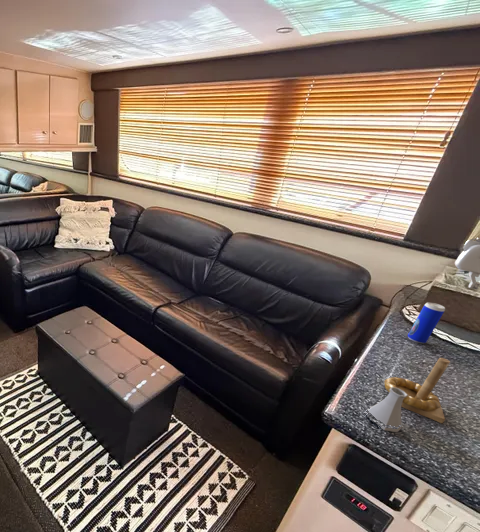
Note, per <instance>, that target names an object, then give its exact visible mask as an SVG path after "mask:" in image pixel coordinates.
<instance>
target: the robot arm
mask: <svg viewBox="0 0 480 532" xmlns="http://www.w3.org/2000/svg"><path fill="white" fill-rule="evenodd" d="M454 265H455V267H456V268H457V270H460V271H463V272H464V271H465V272H469V273H468V276H469V280H470V282H469V284H468V288H469V289H473V290H479V288H480V282H479V281H477V279H476V278H479V277H480V237H476V238H470V239H468V240H467V241H465V243H464V244H463V246H462V251H461V253H460V254H459V255H458V257H457V258H456V259H455V261H454Z"/></svg>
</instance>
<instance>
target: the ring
mask: <svg viewBox="0 0 480 532" xmlns="http://www.w3.org/2000/svg"><path fill="white" fill-rule="evenodd" d="M383 382H384V389H385V390H386V391H387V393H388V394H389V393H390V391H389V389H390V388H391V387H395V388H397V387H396V386H400V387H405V388H407V389H410V390H413V391H414V392H416V393H418V391H419V390H420V388H421V387H422V385H421V384H419V383H417V382H415V381H412V380H410V379H406V378H403V377H396V376H392V377H388V378H386V379H385V380H384V381H383ZM426 400H427V401H423V400H418V399H416V398H413V397H411V396H409V395H408V396H407V397H405V398H404V399H403V401H402V402H403V403H405V404H407V405H409V406H412V407H414V408H417V409H421V410H427V411H434V410H436V409H438V408H440V406H441V407H442V405H441V402H439V401H440V399H439V397H438V396H437V395H435V393H433V392H432V391H431V393H430V395H429V396H428V398H427V399H426Z"/></svg>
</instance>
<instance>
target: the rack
mask: <svg viewBox="0 0 480 532" xmlns="http://www.w3.org/2000/svg"><path fill="white" fill-rule="evenodd" d="M450 364H451V361H450V360H449V359H446V358H444V357H439V358H438V359H437V361H436V362H435V364H434V366H433V367H432V369H431V371H430V372H429V374H428V375H427V377H426V378H425V380H424V381H423V383H422V385H421V386H422V387H421V388H420V390H419V391H418V393H416V392H414V391H413V390H410V389H407V388H405V387H400V386H396V387H397V388H399V389H401V390H403V391H404V392H405V393H406V394H407V395H409V396H411V397H413V398H416V399H418V400H423V401H427V400H426V399H427V398H428V396H429V395H430V393H431V392H432V391H433V390H434V388H435V387H436V385H437V384H438V383H439V380H440V379H441V378H442V376H443V374H444V373H445V372H446V370H447V368H448V367H449V365H450ZM439 402H440V400H439ZM440 403H441V402H440ZM401 408H403V409H405V410H408V411H410V412H413V413H415V414H417V415H420V416H423V417H425V418H428V419H430V420H433V421H435V422H438V423H440V424H444V422H445V421H446V417H445V414H444V411H443V408H442V405H441V406H440V408H438V409H436V410H434V411H427V410H421V409H417V408H414V407H412V406H409V405H407V404H405V403H403V402H402V405H401Z"/></svg>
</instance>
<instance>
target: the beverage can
mask: <svg viewBox="0 0 480 532" xmlns="http://www.w3.org/2000/svg"><path fill="white" fill-rule="evenodd" d="M445 311H446V307H445V306H443V305H441V304H439V303H435V302H429V301H427V302H426V303H425V304H424V305H423V307H422V309H421V310H420V312H419V313H418V315H417V318H416V319H415V321H414V323H413V324H412V327H411V328H410V330H409V332H408V333H407V338H408V339H409V340H410V341H412V342H414V343H417V344H426V343H427V342H428V341H429V338H430V337H431V335H432V334H433V332H434V330H435V328H436V326H437V325H438V324H439V321H440V320H441V318H442V316H443V315H444V313H445Z"/></svg>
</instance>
